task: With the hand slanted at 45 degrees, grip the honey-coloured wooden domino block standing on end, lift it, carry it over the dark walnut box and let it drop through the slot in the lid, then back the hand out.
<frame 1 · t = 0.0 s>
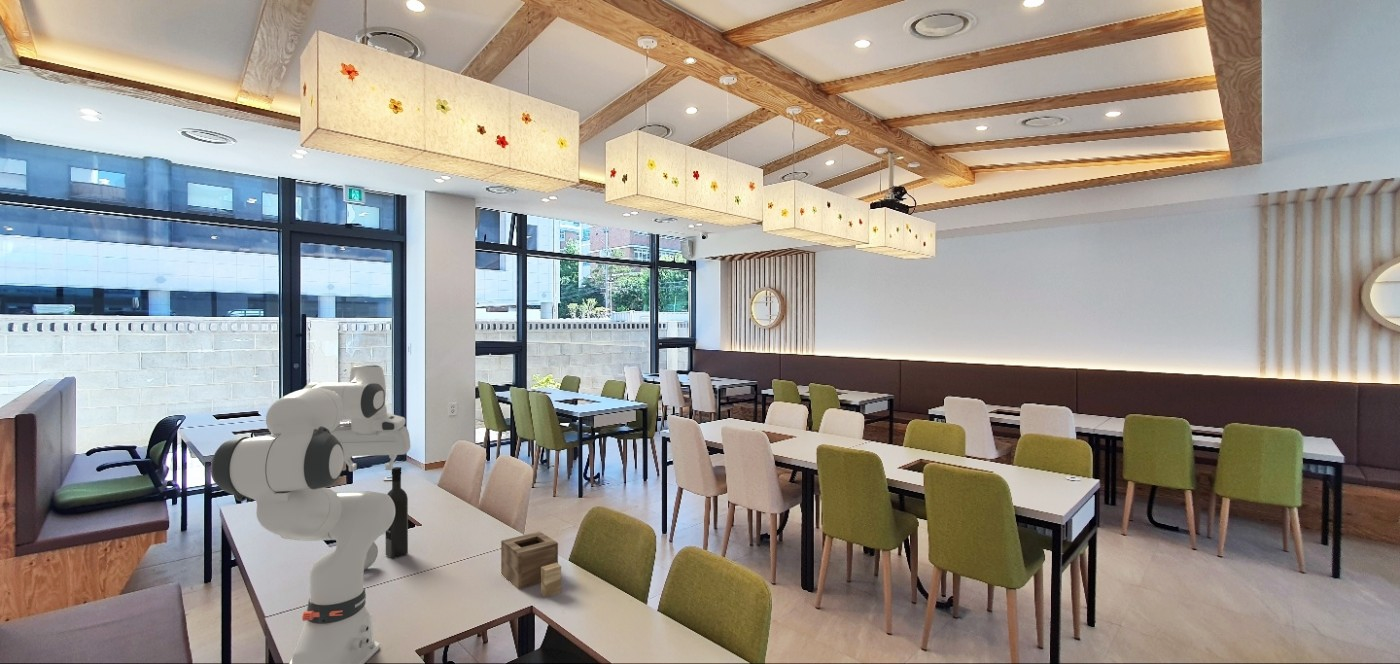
hand: (371, 470, 168), 39 cm above the table, tool pointing down, fingers open, 8 cm apart
slot box: (529, 576, 190), on the table
domino block: (551, 593, 179), on the table
donut: (361, 571, 193), on the table
wine bottle: (396, 555, 206), on the table
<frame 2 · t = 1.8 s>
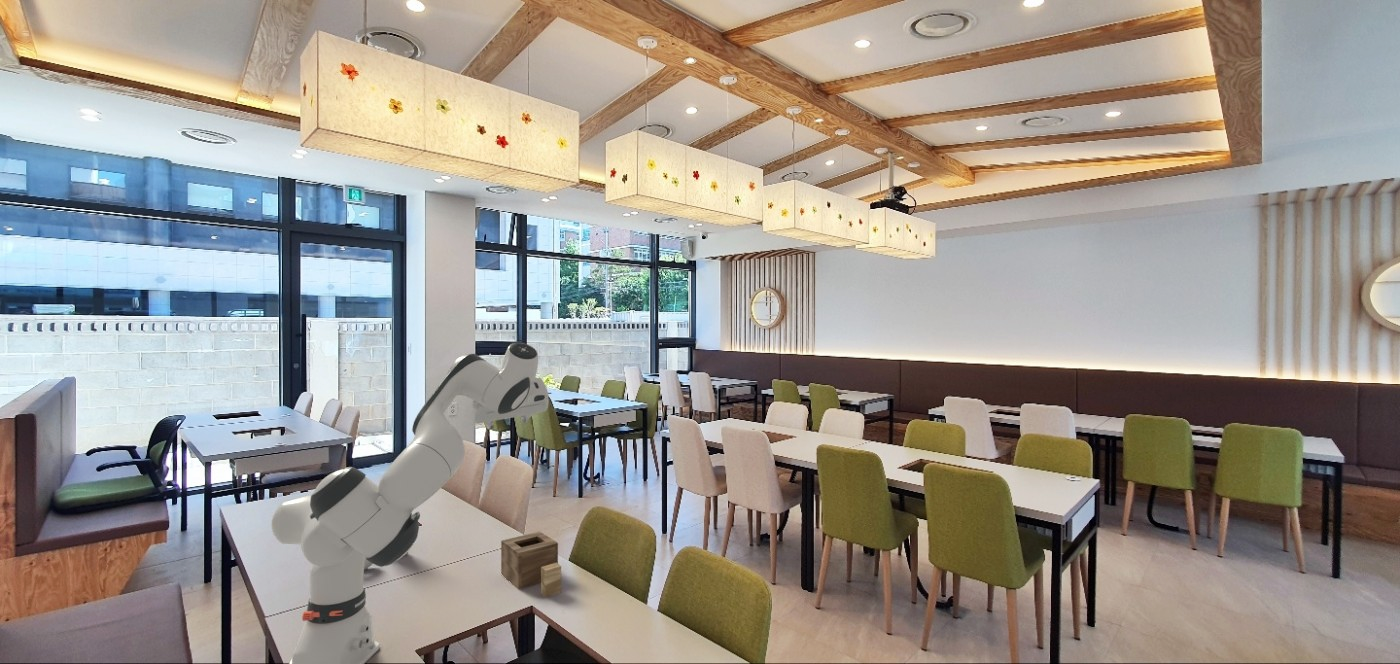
hand: (507, 424, 168), 52 cm above the table, tool tilted 45°, fingers open, 8 cm apart
nothing on the table moved.
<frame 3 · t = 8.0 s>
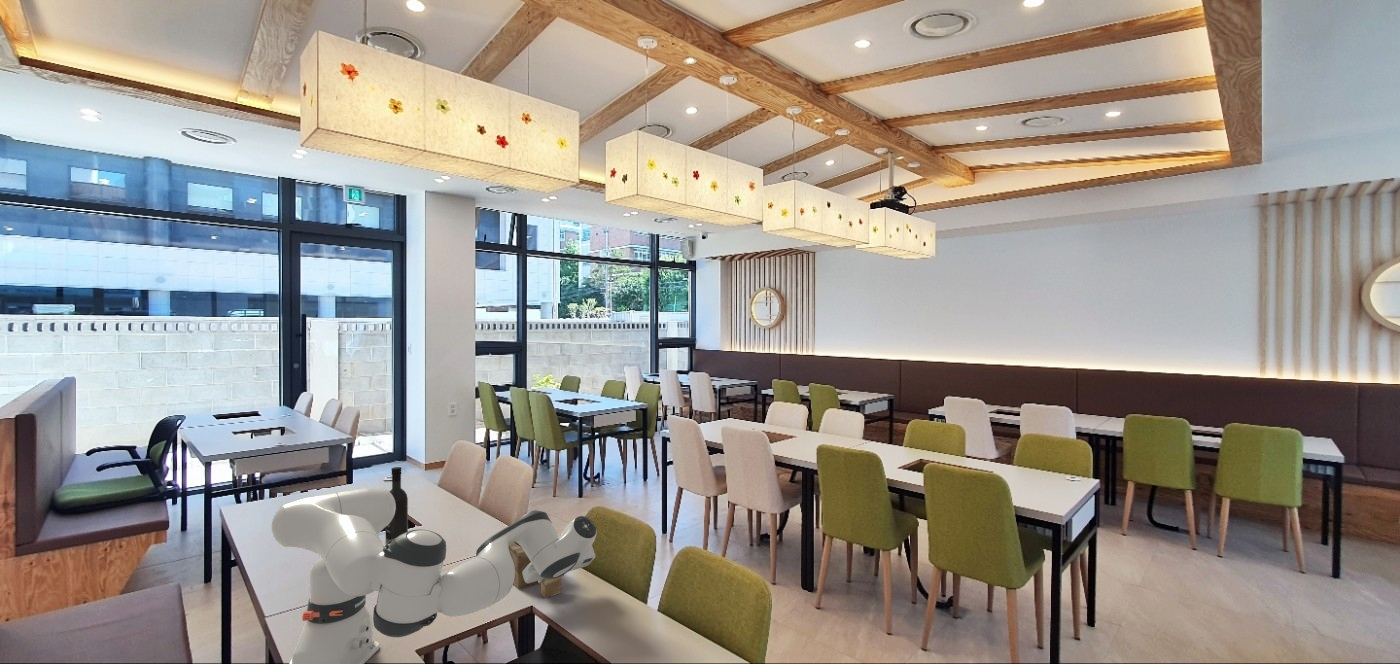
hand: (550, 577, 179), 5 cm above the table, tool tilted 45°, fingers closed on domino block, 5 cm apart
domino block: (551, 593, 179), on the table, touching gripper
everything else where it was.
when the fingers open (13 cm above the table, at t = 15.9 s): domino block drops 8 cm, resting in slot box.
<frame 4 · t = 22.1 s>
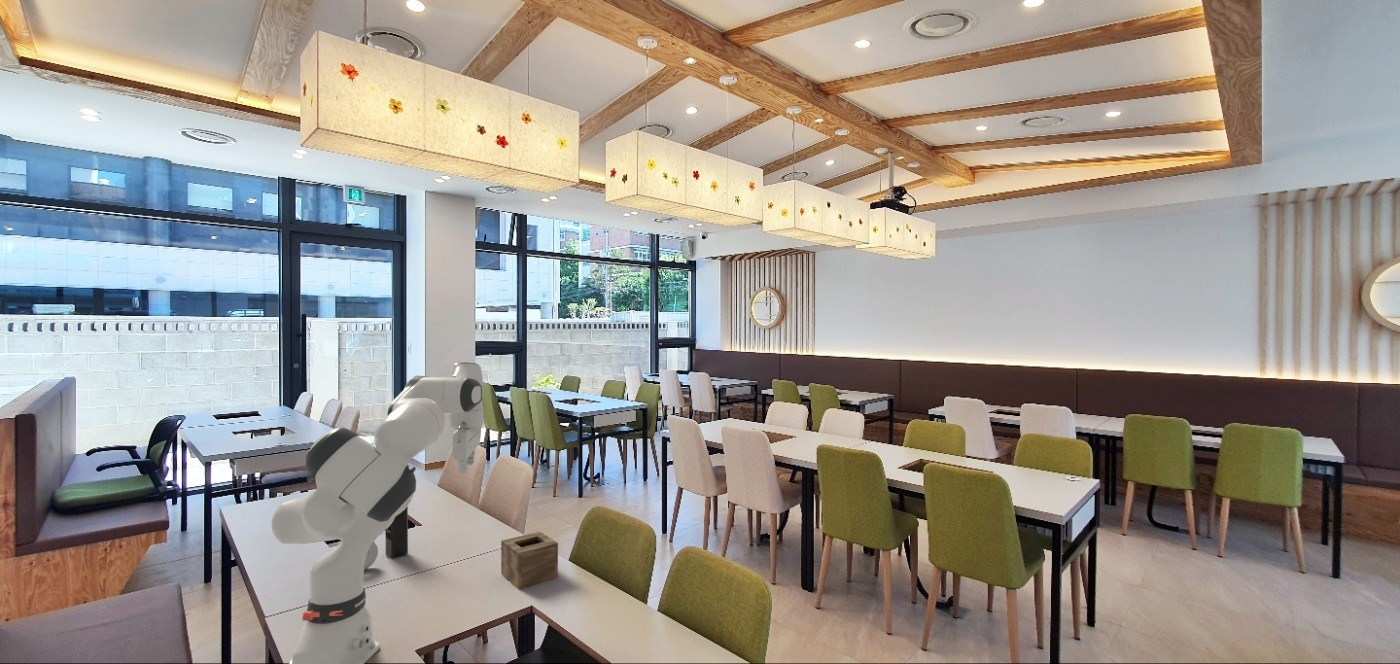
hand: (466, 468, 170), 39 cm above the table, tool pointing down, fingers open, 8 cm apart
domino block: (529, 576, 190), resting in slot box
everything else where it was.
at the end: domino block inside the target area on the slot box (0.0 cm from its centre), point 0.0 cm above the slot box's base; the gripper is holding nothing; domino block moved 15.0 cm from its start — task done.
